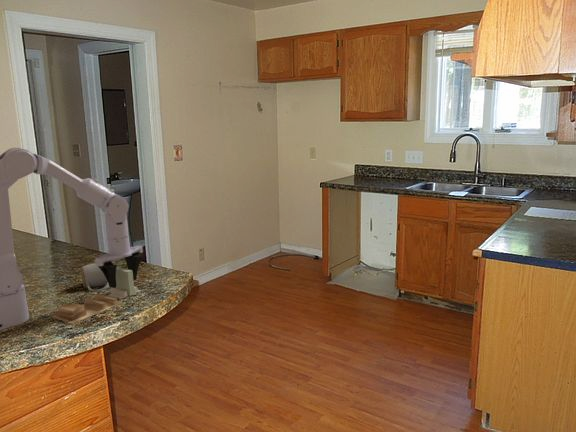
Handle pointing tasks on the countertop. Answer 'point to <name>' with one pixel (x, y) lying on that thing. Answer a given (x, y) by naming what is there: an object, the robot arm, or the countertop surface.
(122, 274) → the pale green square slab
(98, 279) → the ceramic mug
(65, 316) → the offcut low
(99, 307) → the rack
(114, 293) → the stand
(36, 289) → the countertop surface
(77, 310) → the offcut top
